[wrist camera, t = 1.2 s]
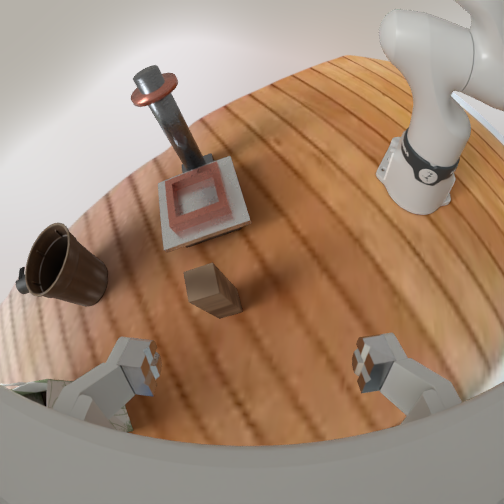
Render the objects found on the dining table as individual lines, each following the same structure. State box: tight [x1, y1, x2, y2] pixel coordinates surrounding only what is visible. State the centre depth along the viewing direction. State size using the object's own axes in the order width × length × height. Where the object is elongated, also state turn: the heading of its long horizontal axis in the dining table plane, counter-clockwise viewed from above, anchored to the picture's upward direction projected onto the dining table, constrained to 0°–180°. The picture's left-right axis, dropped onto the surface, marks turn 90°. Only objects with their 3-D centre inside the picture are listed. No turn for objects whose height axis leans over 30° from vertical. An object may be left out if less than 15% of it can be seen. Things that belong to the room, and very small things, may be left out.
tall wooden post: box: [184, 263, 243, 319], centre depth 43 cm, size 4×4×14 cm
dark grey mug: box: [16, 267, 29, 294], centre depth 59 cm, size 10×7×7 cm
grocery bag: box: [0, 379, 133, 432], centre depth 35 cm, size 32×14×23 cm, turn 111°
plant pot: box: [25, 223, 108, 306], centre depth 50 cm, size 16×16×16 cm
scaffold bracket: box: [131, 65, 252, 253], centre depth 46 cm, size 26×17×30 cm, turn 16°
